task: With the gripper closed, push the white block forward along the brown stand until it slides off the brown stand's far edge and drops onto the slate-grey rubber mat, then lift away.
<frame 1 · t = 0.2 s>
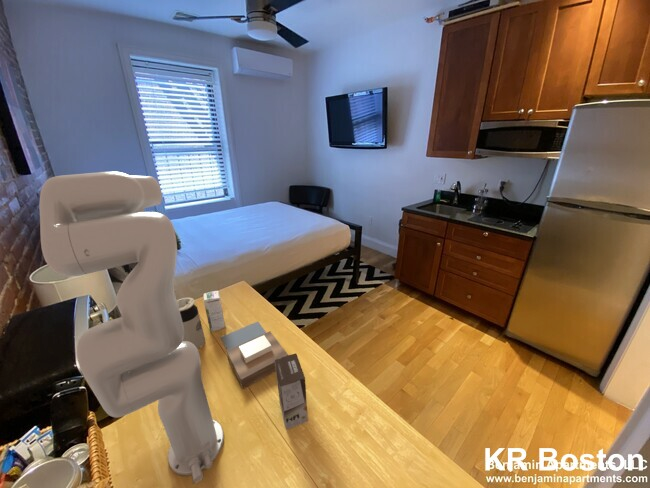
hand: (147, 268, 89), 31 cm above the table, tool pointing down, fingers open, 9 cm apart
mat: (245, 338, 102), on the table
white block: (255, 350, 91), point 4 cm above the table, touching brown stand
travel mug: (193, 344, 100), on the table
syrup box: (217, 325, 109), on the table
brown stand: (258, 361, 92), on the table
coffee box: (293, 411, 76), on the table
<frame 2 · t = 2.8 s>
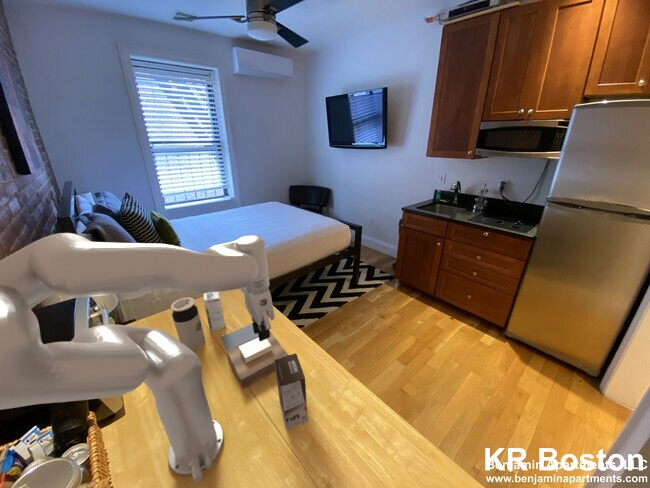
hand: (261, 334, 80), 17 cm above the table, tool pointing down, fingers open, 3 cm apart
nothing on the table moved.
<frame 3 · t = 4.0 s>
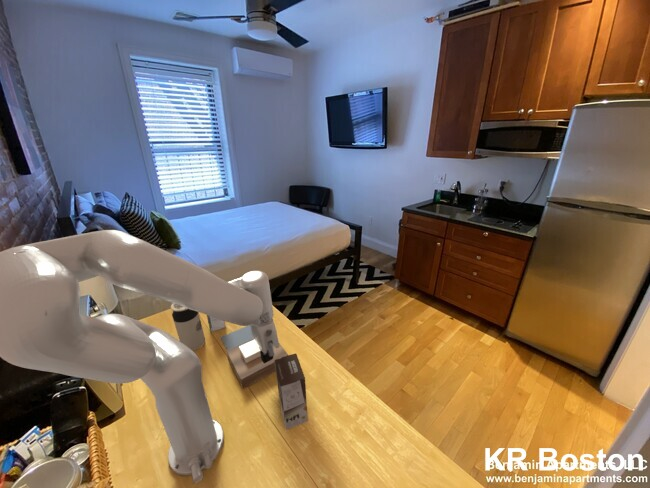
hand: (267, 359, 84), 7 cm above the table, tool pointing down, fingers closed
nothing on the table moved.
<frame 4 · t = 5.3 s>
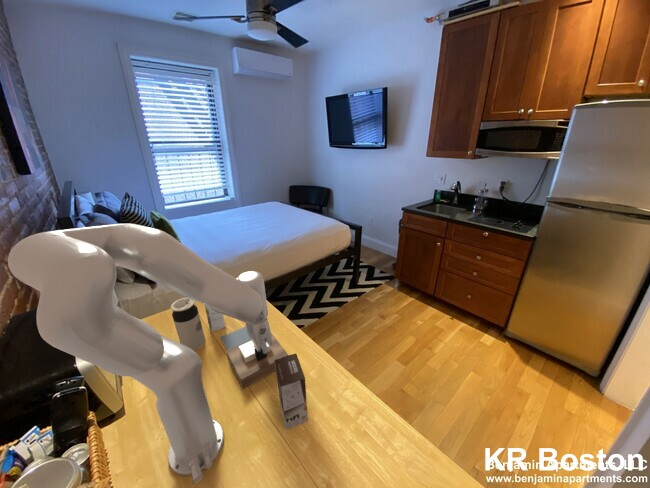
hand: (261, 357, 88), 5 cm above the table, tool pointing down, fingers closed
white block: (255, 350, 91), point 4 cm above the table, touching brown stand, gripper
everything else where it was.
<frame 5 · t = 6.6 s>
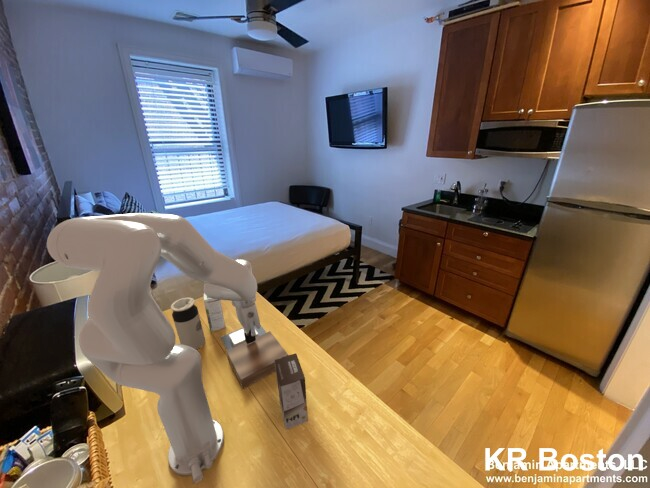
hand: (250, 340, 94), 5 cm above the table, tool pointing down, fingers closed
white block: (243, 334, 101), point 2 cm above the table, tilted 180°, touching mat
everything else where it was.
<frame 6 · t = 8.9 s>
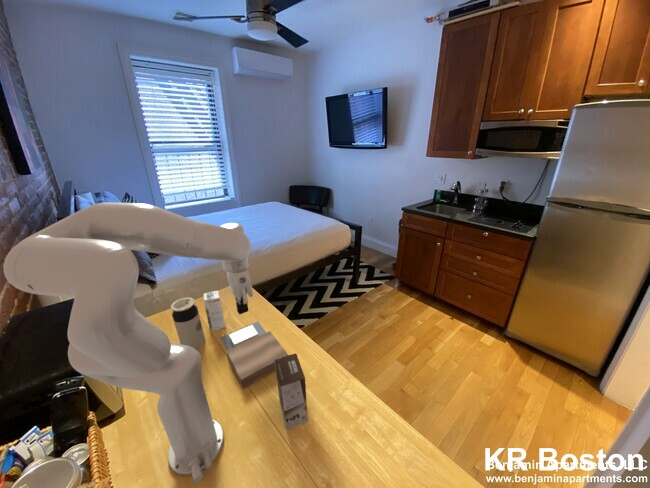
hand: (243, 311, 91), 16 cm above the table, tool pointing down, fingers closed
nothing on the table moved.
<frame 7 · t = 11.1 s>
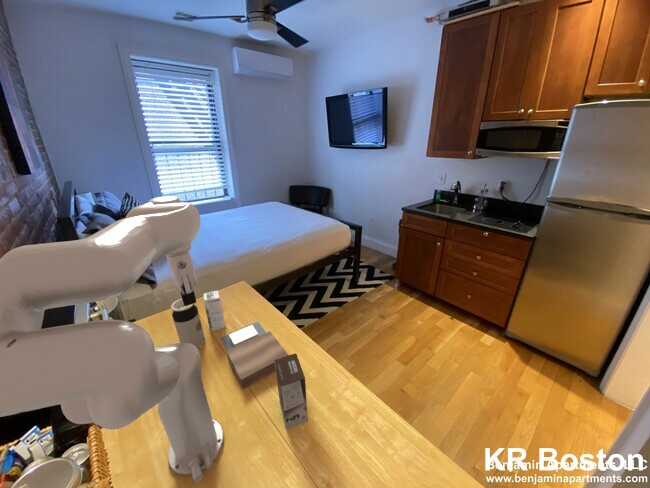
hand: (190, 303, 78), 27 cm above the table, tool pointing down, fingers closed
nothing on the table moved.
at the end: white block point 2.5 cm above the table; white block inside the target area on the mat (0.6 cm from its centre), point 2.5 cm above the mat's base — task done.
